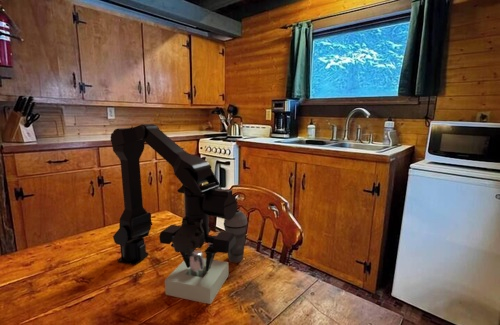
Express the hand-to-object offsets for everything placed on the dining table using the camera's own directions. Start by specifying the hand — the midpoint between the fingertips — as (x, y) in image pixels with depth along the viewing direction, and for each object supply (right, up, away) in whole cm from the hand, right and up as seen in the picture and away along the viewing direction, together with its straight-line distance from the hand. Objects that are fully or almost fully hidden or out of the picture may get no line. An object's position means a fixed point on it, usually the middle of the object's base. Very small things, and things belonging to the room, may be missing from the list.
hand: (198, 268), depth 71 cm
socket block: (0, -4, +1) cm, 4 cm away
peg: (0, -4, +1) cm, 4 cm away
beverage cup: (+9, -2, +14) cm, 16 cm away
